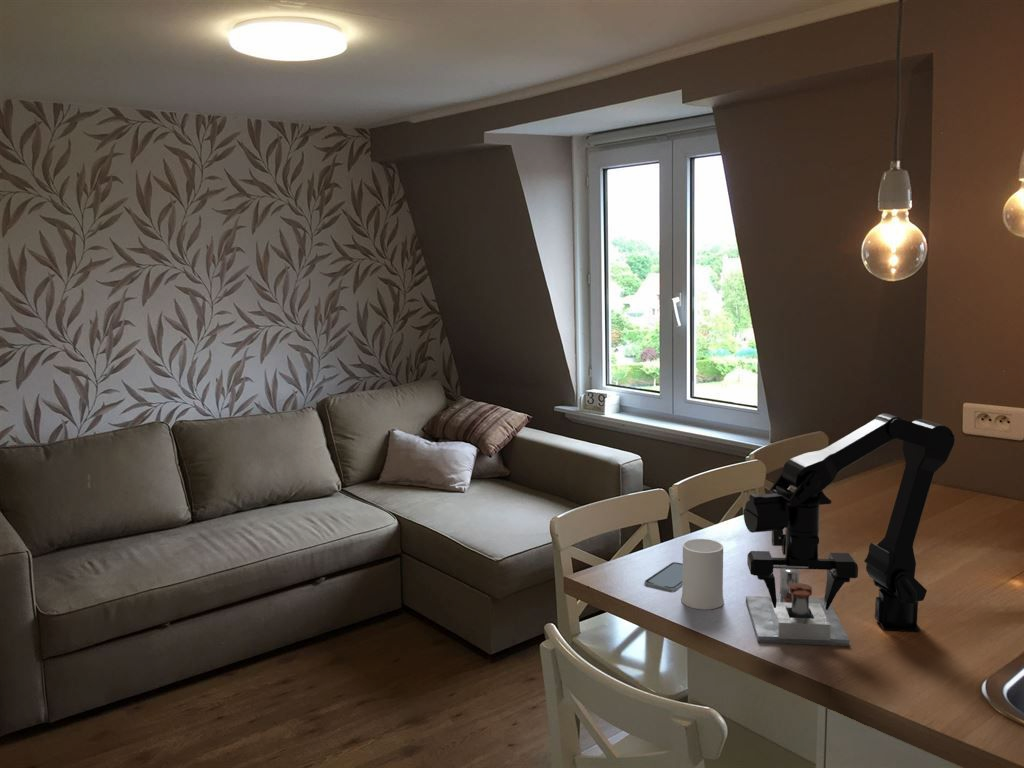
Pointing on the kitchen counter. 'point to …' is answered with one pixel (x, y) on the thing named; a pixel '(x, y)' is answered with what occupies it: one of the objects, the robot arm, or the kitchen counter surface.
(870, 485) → the kitchen counter surface
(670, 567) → the smartphone
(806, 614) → the copper-capped peg
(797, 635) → the socket base
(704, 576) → the mug
